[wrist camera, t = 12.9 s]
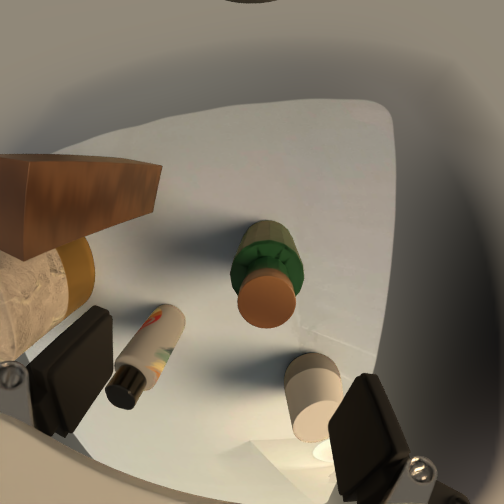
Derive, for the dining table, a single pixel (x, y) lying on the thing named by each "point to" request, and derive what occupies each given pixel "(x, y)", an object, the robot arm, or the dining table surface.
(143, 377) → the lotion bottle
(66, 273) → the vase
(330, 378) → the smart speaker
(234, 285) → the green bottle
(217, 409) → the dining table surface
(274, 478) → the dining table surface
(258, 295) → the cork stopper
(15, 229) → the brown block
